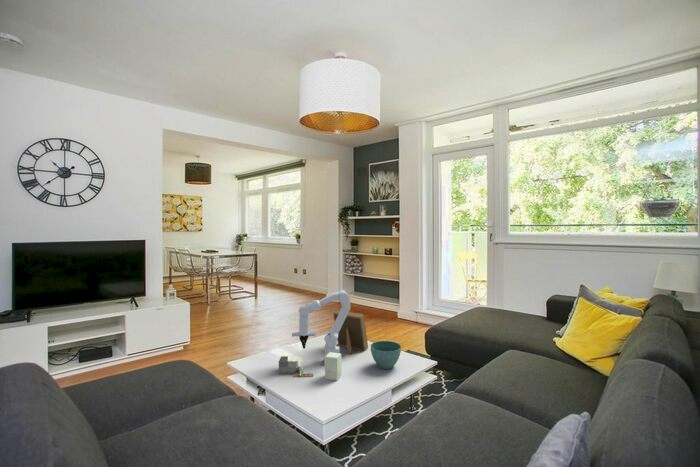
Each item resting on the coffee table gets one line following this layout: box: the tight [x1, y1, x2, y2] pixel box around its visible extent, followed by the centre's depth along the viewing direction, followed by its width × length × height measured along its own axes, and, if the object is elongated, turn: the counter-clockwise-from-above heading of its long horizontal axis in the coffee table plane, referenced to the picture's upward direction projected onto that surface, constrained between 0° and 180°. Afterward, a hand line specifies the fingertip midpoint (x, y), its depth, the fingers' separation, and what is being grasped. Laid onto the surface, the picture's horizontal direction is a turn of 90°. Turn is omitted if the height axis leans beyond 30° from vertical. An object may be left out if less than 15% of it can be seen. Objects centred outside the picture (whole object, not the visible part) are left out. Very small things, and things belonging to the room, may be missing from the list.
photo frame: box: [332, 309, 369, 355], centre depth 236 cm, size 15×22×25 cm
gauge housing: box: [278, 355, 299, 375], centre depth 202 cm, size 10×8×7 cm
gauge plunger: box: [297, 361, 305, 376], centre depth 200 cm, size 11×12×4 cm
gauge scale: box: [292, 372, 314, 378], centre depth 196 cm, size 11×4×1 cm, turn 92°
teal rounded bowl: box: [369, 340, 402, 370], centre depth 209 cm, size 18×18×12 cm
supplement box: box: [324, 352, 343, 381], centre depth 194 cm, size 7×7×13 cm
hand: (304, 347), depth 213 cm, fingers closed
